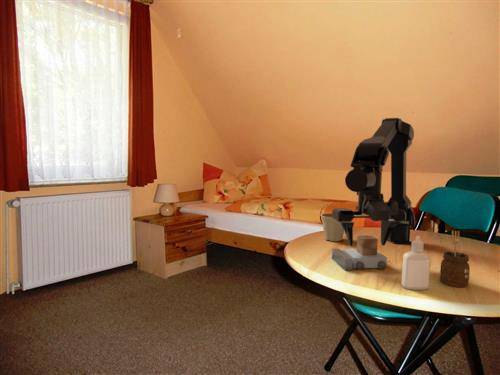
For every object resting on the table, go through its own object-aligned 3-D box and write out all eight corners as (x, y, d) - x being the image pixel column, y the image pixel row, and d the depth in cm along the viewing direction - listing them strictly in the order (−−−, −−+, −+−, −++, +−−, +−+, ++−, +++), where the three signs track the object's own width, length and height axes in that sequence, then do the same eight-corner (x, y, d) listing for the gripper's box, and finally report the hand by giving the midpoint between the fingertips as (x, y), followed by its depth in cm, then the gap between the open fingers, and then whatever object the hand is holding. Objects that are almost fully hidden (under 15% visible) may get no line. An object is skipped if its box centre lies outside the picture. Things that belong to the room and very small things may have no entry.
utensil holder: (440, 285, 82) (444, 234, 80) (438, 276, 87) (441, 229, 86) (470, 289, 79) (474, 237, 78) (466, 280, 85) (469, 232, 84)
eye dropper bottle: (428, 293, 77) (432, 239, 76) (400, 288, 80) (404, 236, 78) (428, 286, 81) (431, 235, 80) (401, 282, 83) (404, 232, 82)
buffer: (338, 258, 101) (339, 248, 101) (352, 270, 91) (352, 259, 91) (331, 258, 101) (332, 248, 100) (344, 270, 91) (345, 259, 91)
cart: (371, 257, 102) (371, 248, 102) (388, 269, 92) (388, 258, 92) (341, 258, 101) (341, 248, 101) (355, 269, 91) (355, 259, 91)
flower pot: (314, 237, 126) (315, 213, 125) (335, 235, 130) (336, 212, 129) (330, 244, 117) (331, 218, 116) (352, 241, 121) (353, 216, 120)
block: (370, 251, 99) (371, 235, 98) (376, 255, 95) (377, 238, 94) (356, 251, 98) (357, 235, 98) (362, 255, 94) (363, 239, 94)
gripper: (347, 192, 86) (345, 254, 87) (419, 192, 88) (415, 253, 89) (332, 187, 97) (330, 243, 98) (396, 187, 99) (393, 242, 100)
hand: (367, 245), depth 96 cm, fingers open, 9 cm apart
